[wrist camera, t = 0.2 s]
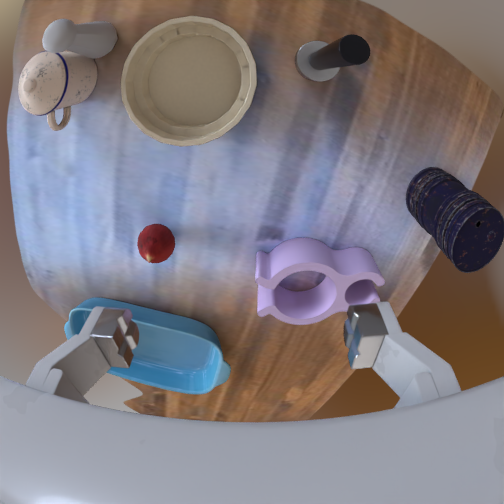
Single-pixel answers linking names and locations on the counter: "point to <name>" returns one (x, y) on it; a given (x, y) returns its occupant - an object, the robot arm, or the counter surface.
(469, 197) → the oil drum
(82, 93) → the teacup with lid
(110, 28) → the salt shaker
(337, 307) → the clip
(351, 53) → the black tall cylinder post
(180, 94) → the bowl
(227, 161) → the counter surface
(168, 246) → the onion
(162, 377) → the casserole dish
